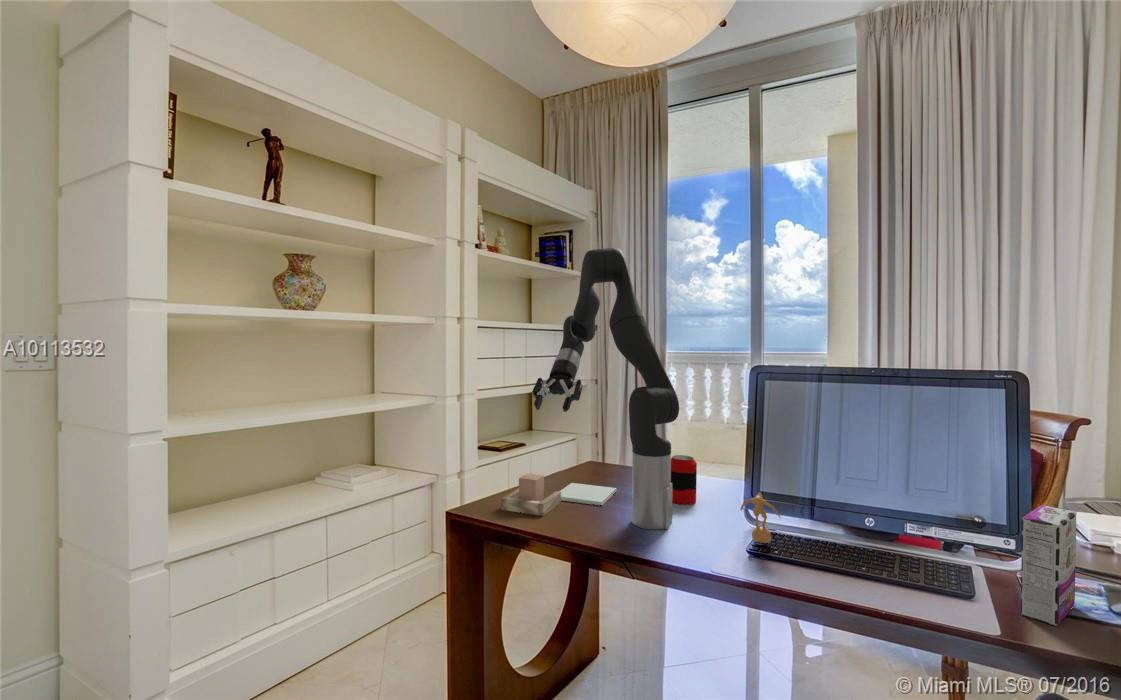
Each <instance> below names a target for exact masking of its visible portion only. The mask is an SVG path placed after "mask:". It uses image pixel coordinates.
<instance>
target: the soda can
mask: <svg viewBox="0 0 1121 700" xmlns="http://www.w3.org/2000/svg"><path fill="white" fill-rule="evenodd" d="M697 467H698V466H697V461H696V460H695V458H694V457H692V456H690V455H683V454H677V455H676V454H675V455H671V483H672V504H676V505H681V504H683V505H684V506H685V505H686V506H687V504H688V505H694V504H695V503H696V502H697V472H698V471H697V469H698V468H697Z"/></svg>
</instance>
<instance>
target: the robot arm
mask: <svg viewBox="0 0 1121 700" xmlns="http://www.w3.org/2000/svg"><path fill="white" fill-rule="evenodd" d="M625 258H626V257H625V256H624V253H623V252H622V251H621V249H620V248H618V247H607V248H596V249H590V250H587V251H586V253H585V254H584V256H583V259H582V264H581V270H580V279H579V280H580V281H579V288H578V289H579V290H578V297H577V300H576V302H575V306H574V310H573V313H572V315H569V316H567V317H566V318H565V320H564V322H563V327H562V335H563V336H562V343H561V346H560V347H559V348H560V349H559V351H558V353H557V355H556V357H555V359H554V362H553V364H552V367H551V370H550V373H549V377H548V378H547V379H543V378H542V377H538V378H537V380H536V382H535V384H534V387H533V389H532V391H531V393H532V395H533V397H534V398H535V400H534V403H533V405H534V407H535V410H537V411H540V408H541V406H542V404H543V400H544V399H545V398H547V397H550V396H552V395H560V396H562V395H564V394H565V399H564V402H563V405H562V411H563V412H565V413H567V412H568V411H569V410H570V408H571V405H572V403H573V401H577V402H578V401H580V399H581V394H582V390H583V383H582V380H581V379H577V380H576V381H575V379H576V376H577V374H578V370H579V367H580V363H581V359H582V357H583V354H584V350H585V343H588V342H590V341H592V340H593V339H594V338H595V335H596V330H597V329H596V326H597V325H596V318H597V314H598V312H599V310H600V306H601V305H600V304H601V301H600V296H599V295H598V293H597V291H596V289H595V288H594V285H595V284H601V283H602V284H603V283H604V284H605V283H611V282H612V283H614V286H615V289H616V298H615V302H614V305H613V308H612V310H611V314H610V317H609V323H608V324H609V328H610V333H611V335H612V338H613V341H614V344H615V346H616V349H617V350H618V351H619V352H620V354H621V355H622V356H623V357H624V358H625V359H626V360H627V361H628V362H629V363H630V365H632V366H633V367H634V368H635V369H636V370H637V371H638V373H639V374H640V375H641V377H642V379H643V381H644V383H645V385H646V386H638V387H636V388H634V389H633V390H632V392H631V393H630V396H629V402H628V418H629V421H628V422H629V439H630V442H631V446H632V452H631V453H632V455H631V456H632V462H631V463H632V464H631V523H632V524H633V525H634V526H636V527H639V528H641V529H645V530H668V529H669V527H670V526H671V524H672V522H673V503H672V483H671V458H672V444H671V442H670V441H669V440H668V439H666V438H662V437H660V436H658V434H657V429H656V425H661V424H662V425H663V424H669V423H674V421H676V420H677V418H678V416H679V414H680V413H679V412H680V401H679V398H678V395H677V393H676V391H675V387H673V384H672V382H671V380H670V378H669V376H668V374H667V372H666V370H665V367H664V366H663V364H662V362H661V359H660V356H659V355H658V352H657V350H656V349H657V348H656V346H655V344H654V342H653V339H652V336H651V333H650V329H649V327H648V325H647V321H646V319H645V317H644V315H643V313H642V310H641V307H640V305H639V302H638V299H637V296H636V293H635V289H634V287H633V283H632V279H631V275H630V272H629V269H628V268H629V267H628V265H627V262H626V261H627V260H626V259H625ZM573 387H574V390H573V393H571V392H570V390H571V389H573Z"/></svg>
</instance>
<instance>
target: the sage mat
mask: <svg viewBox="0 0 1121 700" xmlns="http://www.w3.org/2000/svg"><path fill="white" fill-rule="evenodd" d="M617 490H618V489H617V488H616V487H611V486H601V485H593V484H585V483H577V482H571V483H569V484H568V485H566V486H565V487H564V488H562V489H561V490H559V492H561V501H565V502H570V503H571V502H573V503H577V504H578V503H579V504H585V505H586V504H587V505H593V504H594V505H593V506H600V505H602V506H603V505H604V504H605V503H607V501H608V500H609V499H611V498H612V497H613V494H614V493H615V492H616V491H617ZM616 493H617V492H616ZM616 493H615V494H616ZM615 494H614V495H615Z"/></svg>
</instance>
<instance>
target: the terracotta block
mask: <svg viewBox="0 0 1121 700" xmlns="http://www.w3.org/2000/svg"><path fill="white" fill-rule="evenodd" d="M518 488H519V499H525V500H532V501H539V502H541V501H542V500H544V499H545V475H544V474H543V475H542V474H536V473H535V474H534V473H526V474H524V475H522V476H520V477H518Z"/></svg>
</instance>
